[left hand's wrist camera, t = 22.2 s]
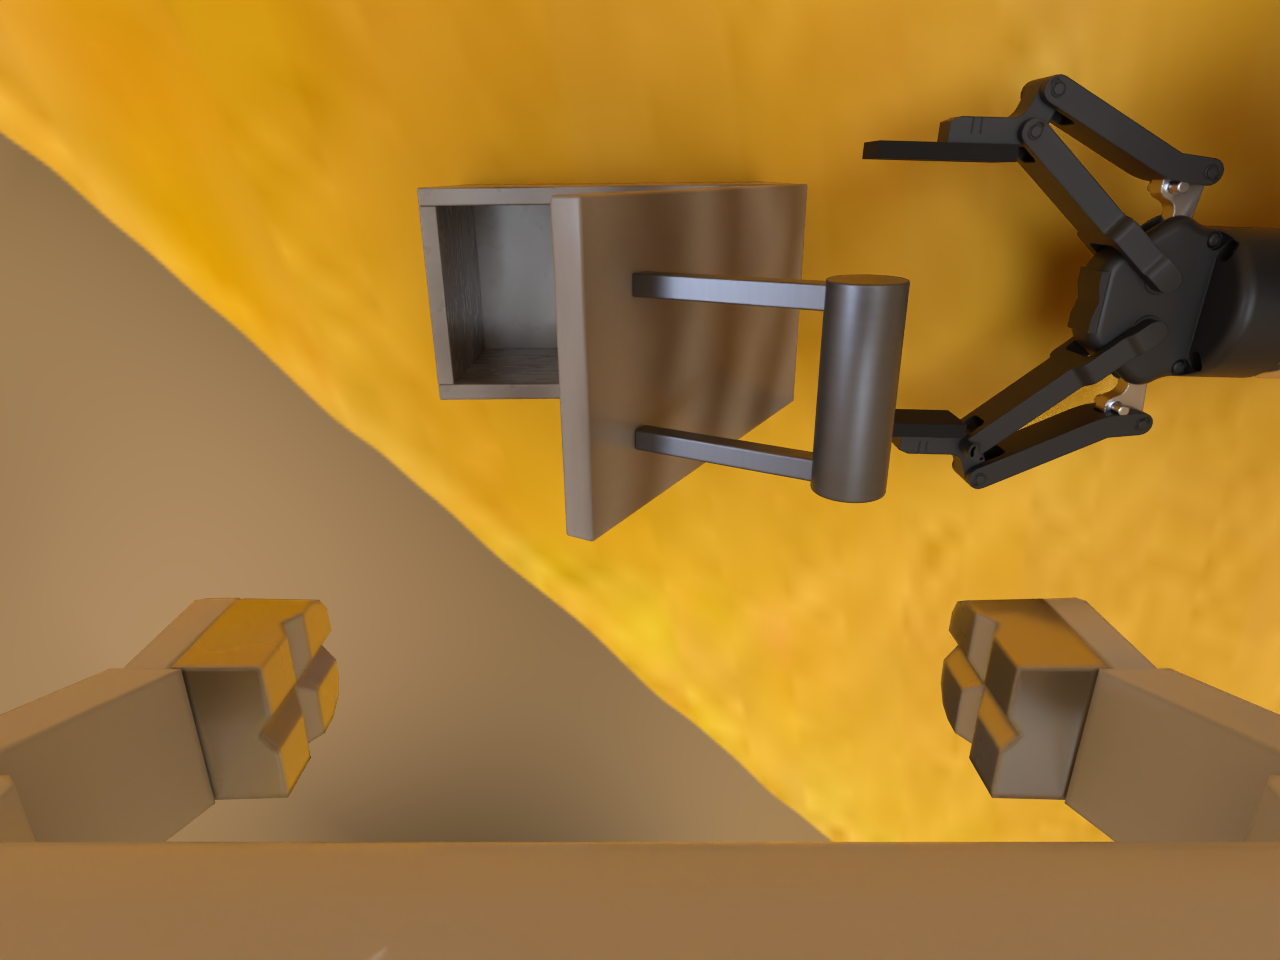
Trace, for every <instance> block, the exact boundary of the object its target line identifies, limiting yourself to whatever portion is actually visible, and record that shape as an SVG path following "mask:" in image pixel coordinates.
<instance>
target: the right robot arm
mask: <svg viewBox="0 0 1280 960" xmlns="http://www.w3.org/2000/svg"><path fill="white" fill-rule="evenodd" d="M1049 122H1050V123H1052V124H1053V125H1055V126H1056V127H1058V128H1059V129H1061V130H1062V131H1064V132H1065V133H1067V134H1069V135H1070V136H1072V137H1073V138H1075V139H1076V140H1078V141H1079V142H1081V143H1082V144H1084V145H1085V146H1087V147H1089V148H1090V149H1092V150H1093V151H1095V152H1096V153H1098V154H1099V155H1101V156H1102V157H1104V158H1105V159H1107V160H1108V161H1110V162H1112V163H1113V164H1115V165H1116V166H1118V167H1119V168H1121V169H1122V170H1124V171H1125V172H1127V173H1129V174H1131V175H1132V176H1134V177H1137V178H1140V179H1142V180H1147V181H1150V182H1149V184H1148V187H1147V189H1148V191H1149V192H1150V194H1151V195H1152V197H1153V198H1155V199H1157V200H1159V201H1160V202H1161V204H1162V206H1163V211H1162V215H1160V216H1156V217H1154V218H1152V219H1151V220H1149V221H1147V222H1146V223H1144V224H1143V225H1141V226H1139V224H1138V223H1137V222H1136V221H1135V220H1133V219H1132V218H1130V217H1128V216H1126V215H1125V214H1124V213H1123V212H1122V211H1121V210H1120V209H1119V207H1118V206H1117V205H1116V204H1115V203H1114V201H1113V200H1112V199H1111V198H1110V197H1109V196H1108V194H1107V193H1106V192H1105V191H1104V190H1103V188H1102V187H1101V186H1100V185H1099V184H1098V182H1097V181H1096V180H1095V179H1094V178H1093V177H1092V175H1091V174H1090V173H1089V172H1088V171H1087V169H1086V168H1085V167H1084V166H1083V165H1082V164H1081V162H1080V161H1079V160H1078V159H1077V158H1076V156H1075V155H1074V154H1073V153H1072V152H1071V151H1070V149H1069V148H1068V147H1067V146H1066V145H1065V143H1064V142H1063V141H1062V140H1061V139H1060V137H1059V136H1058V135H1057V134H1056V133H1055V132H1054V130H1053V129H1052V128H1051V127H1050V126H1049ZM862 159H879V160H916V161H952V162H988V163H995V162H1016V161H1017V162H1018V163H1019V164H1020V165H1021V166H1022V167H1023V168H1024V170H1025V171H1026V172H1027V173H1028V174H1029V175H1030V176H1031V178H1032V179H1033V180H1034V181H1035V182H1036V183H1037V184H1038V186H1039V187H1040V188H1041V189H1042V190H1043V191H1044V193H1045V194H1046V195H1047V196H1048V197H1049V198H1050V199H1051V201H1052V202H1053V203H1054V204H1055V205H1056V206H1057V207H1058V209H1059V210H1060V211H1061V212H1062V213H1063V214H1064V215H1065V217H1066V218H1067V219H1068V220H1069V221H1070V222H1071V223H1072V225H1073V226H1074V227H1075V228H1076V229H1077V231H1078V233H1077V235H1078V236H1079V238H1080V239H1081V240H1082V241H1083V242H1084V244H1085V245H1086V246H1087V247H1088V248H1089V249H1090V250H1091V252H1092V253H1093V254H1094V256H1093V257H1092V258H1091V260H1090V261H1089V262H1088V264H1087V266H1086V267H1081V270H1080V274H1079V278H1078V299H1077V301H1076V303H1075V305H1074V307H1073V309H1072V311H1071V314H1070V318H1069V323H1068V327H1070V328H1072V333H1073V336H1074V337H1072V338H1071V339H1069V340H1068V341H1066V342H1065V343H1063V344H1062V345H1061V346H1059V347H1058V348H1056V349H1055V350H1054V351H1052V353H1051V354H1050V358H1049V359H1048V360H1046V361H1045V362H1043V363H1042V364H1040V365H1039V366H1037V367H1036V368H1035V369H1033V370H1032V371H1030V372H1029V373H1027V374H1026V375H1024V376H1023V377H1021V378H1020V379H1019V380H1017V381H1016V382H1014V383H1013V384H1011V385H1010V386H1008V387H1007V388H1006V389H1004V390H1003V391H1001V392H1000V393H998V394H997V395H995V396H994V397H992V398H991V399H990V400H988V401H987V402H985V403H984V404H982V405H981V406H979V407H978V408H976V409H975V410H974V411H972V412H971V413H969V414H968V415H966V416H965V417H963V418H962V419H959V418H957V417H956V416H955V415H953V414H952V413H951V412H950V411H948V410H913V409H895V416H894V425H893V433H892V443H893V444H894V445H895V446H896V447H897V448H898V449H899V450H901V451H903V452H906V453H909V454H918V453H919V454H951V455H953V463H952V468H953V469H954V471H955V472H956V473H957V474H958V475H959V476H961V477H962V478H963V479H964V480H965V481H966V482H967V483H968V484H969V485H970V486H971V487H973V488H975V489H981V488H984V487H987V486H989V485H992V484H994V483H997V482H999V481H1002V480H1004V479H1006V478H1009V477H1011V476H1014V475H1016V474H1019V473H1021V472H1024V471H1026V470H1029V469H1031V468H1034V467H1036V466H1039V465H1041V464H1044V463H1046V462H1049V461H1051V460H1054V459H1056V458H1058V457H1061V456H1063V455H1066V454H1068V453H1071V452H1073V451H1076V450H1078V449H1081V448H1083V447H1086V446H1088V445H1091V444H1093V443H1096V442H1098V441H1101V440H1103V439H1106V438H1109V437H1121V436H1133V435H1141V434H1144V433H1146V432H1148V431H1149V430H1150V428H1151V427H1152V424H1153V419H1152V417H1151V416H1150V415H1148V414H1147V413H1144V412H1143V405H1144V399H1145V392H1146V386H1147V383H1149V382H1152V381H1154V380H1156V379H1158V378H1161V377H1165V376H1196V377H1237V378H1244V377H1252V376H1255V377H1258V378H1280V229H1278V228H1255V227H1219V226H1203V225H1201V224H1199V223H1197V222H1196V221H1195V220H1194V219H1192V217H1193V215H1194V212H1195V209H1196V207H1197V204H1198V201H1199V199H1200V196H1201V193H1202V191H1203V188H1204V186H1208V185H1213V184H1215V183H1216V182H1217V181H1219V180H1220V178H1221V177H1222V175H1223V171H1224V166H1223V163H1222V162H1221V161H1220V160H1218V159H1216V158H1210V157H1203V156H1197V155H1191V154H1184V153H1181V152H1180V151H1178V150H1177V149H1175V148H1174V147H1172V146H1171V145H1169V144H1168V143H1166V142H1165V141H1163V140H1162V139H1160V138H1159V137H1157V136H1156V135H1154V134H1153V133H1151V132H1150V131H1148V130H1147V129H1145V128H1144V127H1142V126H1141V125H1139V124H1138V123H1136V122H1135V121H1133V120H1132V119H1130V118H1129V117H1127V116H1126V115H1124V114H1123V113H1121V112H1120V111H1118V110H1117V109H1115V108H1114V107H1112V106H1111V105H1109V104H1108V103H1106V102H1105V101H1103V100H1102V99H1100V98H1099V97H1097V96H1096V95H1094V94H1093V93H1091V92H1090V91H1088V90H1087V89H1085V88H1084V87H1082V86H1081V85H1079V84H1078V83H1076V82H1075V81H1073V80H1072V79H1070V78H1069V77H1067V76H1065V75H1062V74H1060V75H1054V76H1050V77H1045V78H1041V79H1037V80H1033V81H1030V82H1028V83H1027V84H1026V85H1025V86H1024V87H1023V89H1022V91H1021V101H1020V103H1019V105H1018V107H1017V108H1016V110H1015V111H1014V113H1013V114H1012V115H1010V116H1009V117H973V116H961V117H955V118H950V119H948V120H945V121H943V122H940V127H939V134H938V140H937V142H918V141H882V140H880V141H873V142H865V143H864V149H863V157H862ZM1089 355H1091V356H1089ZM1087 356H1088V357H1087ZM1109 374H1112V375H1113V376H1115V377H1116V378H1118V379H1119V380H1118V384H1117V385H1116V387H1115V388H1114V389H1113V390H1111V391H1109V392H1106V393H1103V394H1099V395H1097V396H1096V397H1095V399H1094V402H1095V403H1090V404H1085V405H1081V406H1077V407H1074V408H1072V409H1069V410H1067V411H1064V412H1062V413H1059V414H1057V415H1054V416H1052V417H1050V418H1047V419H1045V420H1042V421H1040V422H1037V423H1035V424H1033V425H1030V426H1028V427H1025V428H1023V429H1021V430H1019V429H1020V428H1022V427H1023V426H1025V425H1026V424H1028V423H1029V422H1031V421H1032V420H1034V419H1035V418H1037V417H1038V416H1040V415H1041V414H1042V413H1044V412H1045V411H1047V410H1048V409H1050V408H1051V407H1053V406H1054V405H1056V404H1057V403H1059V402H1060V401H1062V400H1063V399H1065V398H1066V397H1068V396H1069V395H1071V394H1072V393H1074V392H1075V391H1077V390H1078V389H1080V388H1081V387H1083V386H1087V385H1092V384H1095V383H1097V382H1099V381H1100V380H1102V379H1103V378H1105V377H1106V376H1108V375H1109ZM1017 430H1018V431H1017Z"/></svg>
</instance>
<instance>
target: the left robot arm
mask: <svg viewBox="0 0 1280 960" xmlns="http://www.w3.org/2000/svg"><path fill="white" fill-rule="evenodd" d="M330 631H331V627H330V622H329V618H328V613H327V608H326V607H325V606H324V605H323V604H322V602H321V601H320V600H295V599H240V598H209V599H199V600H195V601H194V602H193V603H192V604H191V605H190V606H189V607H188V608H186V609H185V610H184V611H183V612H182V613H181V614H180V615H179V616H178V617H177V618H176V619H175V620H174V621H173V622H172V623H171V624H170V625H168V626H167V627H166V628H165V629H164V630H163V631H162V632H161V633H160V634H159V635H158V636H157V637H156V638H155V639H154V640H153V641H151V642H150V643H149V644H148V645H147V646H146V647H145V648H144V649H143V650H142V651H141V652H140V653H139V654H138V655H137V656H136V657H135V658H133V659H132V660H131V661H130V662H129V663H128V664H127V665H126V666H125V667H124V668H123V669H108V670H106V671H103V672H101V673H98V674H96V675H94V676H91V677H89V678H86V679H84V680H82V681H79V682H77V683H75V684H72V685H70V686H67V687H65V688H63V689H60V690H58V691H56V692H53V693H51V694H48V695H46V696H44V697H41V698H39V699H37V700H34V701H32V702H29V703H27V704H25V705H22V706H20V707H18V708H15V709H13V710H11V711H8V712H6V713H3V714H1V715H0V960H1280V715H1279V714H1276V713H1274V712H1272V711H1269V710H1267V709H1265V708H1262V707H1260V706H1257V705H1255V704H1253V703H1250V702H1248V701H1246V700H1243V699H1241V698H1238V697H1236V696H1234V695H1231V694H1229V693H1227V692H1224V691H1222V690H1220V689H1217V688H1215V687H1212V686H1210V685H1208V684H1205V683H1203V682H1201V681H1198V680H1196V679H1194V678H1191V677H1189V676H1186V675H1184V674H1182V673H1179V672H1177V671H1175V670H1172V669H1157V668H1156V667H1155V666H1154V665H1153V664H1152V663H1151V662H1150V661H1149V660H1148V659H1147V658H1146V657H1144V656H1143V655H1142V654H1141V653H1140V652H1139V651H1138V650H1137V649H1136V648H1135V647H1134V646H1133V645H1132V644H1131V643H1130V642H1129V641H1128V640H1127V639H1125V638H1124V637H1123V636H1122V635H1121V634H1120V633H1119V632H1118V631H1117V630H1116V629H1115V628H1114V627H1113V626H1112V625H1111V624H1110V623H1109V622H1108V621H1106V620H1105V619H1104V618H1103V617H1102V616H1101V615H1100V614H1099V613H1098V612H1097V611H1096V610H1095V609H1094V608H1093V607H1092V606H1091V605H1090V604H1088V603H1087V602H1086V601H1084V600H1081V599H1078V598H1053V599H1009V600H968V601H959V602H957V604H956V606H955V608H954V610H953V612H952V616H951V621H950V627H949V631H950V633H951V634H952V636H953V637H954V639H955V640H956V642H957V644H958V646H957V647H956V648H955V649H954V650H953V651H952V652H951V653H950V654H949V655H948V656H947V657H946V658H945V659H944V662H943V670H942V678H941V689H942V700H943V706H944V709H945V712H946V715H947V719H948V721H949V722H950V724H951V726H952V728H953V730H954V732H955V733H956V734H958V735H959V736H961V737H962V738H964V739H966V740H967V741H969V742H970V743H972V746H971V751H970V757H969V758H970V760H971V762H972V764H973V765H974V767H975V769H976V771H977V772H978V774H979V776H980V777H981V779H982V781H983V783H984V784H985V786H986V788H987V790H988V791H989V793H990V795H991V797H992V798H1019V799H1055V800H1065V804H1067V805H1068V806H1069V807H1071V808H1072V809H1073V810H1075V811H1076V812H1077V813H1078V814H1080V815H1081V816H1082V817H1084V818H1085V819H1086V820H1088V821H1089V822H1090V823H1092V824H1093V825H1094V826H1095V827H1097V828H1098V829H1099V830H1101V831H1102V832H1103V833H1105V834H1106V835H1107V836H1109V837H1110V838H1111V839H1113V840H1114V841H1115V842H165V841H166V840H168V839H169V838H170V837H172V836H173V835H174V834H176V833H177V832H178V831H180V830H181V829H182V828H183V827H185V826H186V825H187V824H189V823H190V822H191V821H193V820H194V819H195V818H196V817H198V816H199V815H200V814H202V813H203V812H204V811H206V810H207V809H208V808H210V807H211V806H212V805H214V804H215V800H224V799H260V798H288V797H289V795H290V793H291V792H292V790H293V788H294V786H295V784H296V783H297V781H298V779H299V777H300V776H301V774H302V772H303V771H304V769H305V767H306V765H307V764H308V762H309V760H310V758H311V757H310V751H309V746H308V743H310V742H311V741H313V740H314V739H316V738H318V737H319V736H321V735H322V734H324V733H325V732H326V730H327V728H328V726H329V724H330V722H331V720H332V718H333V716H334V712H335V708H336V704H337V699H338V695H339V675H338V669H337V662H336V659H335V658H334V657H333V656H332V655H331V654H330V653H329V652H328V651H327V650H326V649H325V648H324V647H323V646H322V644H323V642H324V640H325V639H326V637H327V636H328V634H329V633H330Z"/></svg>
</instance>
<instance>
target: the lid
mask: <svg viewBox="0 0 1280 960" xmlns="http://www.w3.org/2000/svg"><path fill="white" fill-rule="evenodd" d="M806 197H807V185H806V184H777V185H756V186H735V187H714V188H692V189H671V190H650V191H629V192H608V193H587V194H566V195H553V196H551V198H550V204H551V225H552V245H553V265H554V285H555V306H556V326H557V346H558V366H559V386H560V407H561V427H562V447H563V467H564V487H565V508H566V528H567V535H569V536H573V537H577V538H581V539H585V540H588V541H594V540H596V539H597V538H598V537H600V536H601V535H603V534H604V533H606V532H607V531H608V530H610V529H611V528H613V527H614V526H616V525H617V524H618V523H620V522H621V521H623V520H624V519H625V518H627V517H628V516H630V515H631V514H633V513H634V512H635V511H637V510H638V509H640V508H641V507H643V506H644V505H645V504H647V503H648V502H650V501H651V500H653V499H654V498H655V497H657V496H658V495H660V494H661V493H662V492H664V491H665V490H667V489H668V488H670V487H671V486H672V485H674V484H675V483H677V482H678V481H680V480H681V479H682V478H684V477H685V476H687V475H688V474H690V473H691V472H692V471H694V470H695V469H697V468H698V467H700V466H701V465H702V464H704V463H705V462H708V463H714V464H719V465H725V466H730V467H736V468H741V469H746V470H752V471H757V472H763V473H768V474H774V475H779V476H785V477H790V478H796V479H801V480H807V481H811V489H812V490H813V491H814V492H815V493H816V494H818V495H819V496H821V497H824V498H827V499H830V500H834V501H839V502H846V503H865V502H872V501H875V500H878V499H880V498H882V497H883V496H884V495H885V493H886V486H887V477H888V468H889V459H890V451H891V442H892V433H893V425H894V416H895V407H896V398H897V390H898V381H899V372H900V364H901V355H902V346H903V337H904V329H905V320H906V311H907V303H908V294H909V285H910V281H909V280H907V279H905V278H901V277H895V276H885V275H839V276H833V277H829V278H827V280H826V281H813V280H801V275H802V259H803V244H804V228H805V213H806ZM799 309H803V310H816V311H824V314H823V327H822V340H821V354H820V367H819V380H818V393H817V406H816V419H815V432H814V446H813V452H808V451H802V450H796V449H790V448H784V447H778V446H772V445H765V444H759V443H753V442H747V441H741V440H738V439H739V438H741V437H742V436H744V435H745V434H746V433H748V432H749V431H751V430H752V429H754V428H755V427H756V426H758V425H759V424H761V423H762V422H764V421H765V420H766V419H768V418H769V417H771V416H772V415H774V414H775V413H776V412H778V411H779V410H781V409H782V408H784V407H785V406H786V405H788V404H789V403H791V402H792V401H793V399H794V383H795V368H796V352H797V337H798V321H799Z"/></svg>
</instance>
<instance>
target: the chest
mask: <svg viewBox="0 0 1280 960" xmlns="http://www.w3.org/2000/svg"><path fill="white" fill-rule="evenodd" d="M777 184H789V183H774V182H693V183H601V184H508V185H454V186H439V187H424V188H418V189H417V192H418V201H419V206H420V207H419V211H420V220H421V230H422V239H423V248H424V257H425V267H426V276H427V285H428V294H429V303H430V313H431V322H432V331H433V340H434V350H435V359H436V368H437V377H438V384H439V395H440V399H441V400H460V399H560V386H559V366H558V346H557V326H556V306H555V285H554V265H553V245H552V225H551V204H550V198H551V196H553V195H566V194H587V193H608V192H629V191H650V190H671V189H692V188H714V187H735V186H756V185H777Z"/></svg>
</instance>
